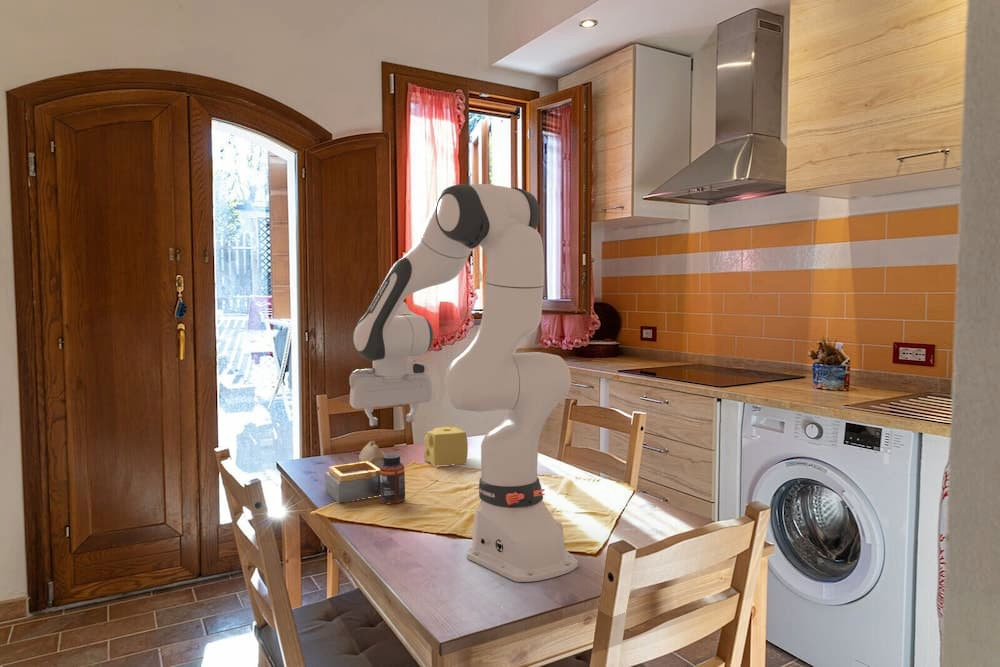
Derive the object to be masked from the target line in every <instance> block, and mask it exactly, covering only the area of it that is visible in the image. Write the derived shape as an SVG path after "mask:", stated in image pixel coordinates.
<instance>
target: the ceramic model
mask: <svg viewBox="0 0 1000 667" xmlns="http://www.w3.org/2000/svg"><path fill="white" fill-rule="evenodd" d="M385 455H387V454H386V453H385V452H384V451H383V450H381V449H380V447H379V446H378V445H377V444H376V441H375V440H370V441H368V443H367V444H366V445H365V446H364V447H363V448H362V449H361V451H360V453H359V455H358V460H360V461H359V462H366V461H369V462H370V463H372V464H373V465H375V466H376V467H378V468H379V469H380V467H381V465H383V463H384V456H385Z"/></svg>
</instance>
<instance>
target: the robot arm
mask: <svg viewBox="0 0 1000 667" xmlns="http://www.w3.org/2000/svg"><path fill="white" fill-rule="evenodd" d="M540 210H541V209H540V205H539V202H538V200H537V198H536V197H535V196H534V195H533V194H532V193H531V192H529V191H527V190H526V189H522V188H518V187H507V186H501V185H496V184H491V183H475V184H473V183H472V184H468V183H459V184H455V185H454V184H453V185H451V186H449V187H446V188H445V189H444V190H442V192H441V193H440V194H439V196H438V198H437V202H435V205H434V206H433V208H432V209H431V211H430V213H429V215H428V217H427V218H426V221H425V223H424V224H423V228H422V230H421V231H420V232H421V233H420V235H419V236H418V238H417V241H416V242H415V244H414V245H413V247H412V248H411V249H410V250H409V251H408V252H407V253H406V254H405V255H404V256H403V257H401V258H400V259H398V260H397V261H396V262H395V263H394V264H393V265H392V266H391V268H390V269H389V271H388V273H387V275H386V277H384V280H383V282H382V284H381V285H380V286H379V289H378V291H377V293H376V294H375V296H374V298H373V300H372V302H371V304H370V305H369V307H368V308H367V310H366V311H365V313H364V314H363V316H362V317H361V318H360V319H359V321H358V322H357V323H356V324H355V326H354V329H353V332H352V343H353V347H354V349H355V351H356V352H357V353H358V354H359V355H360V356H361V357H362V358H364V359H365V360H367V361H368V362H372V368H364V369H362V368H361V369H355V370H354V371H352V372H351V373H350V375H349V376H348V380H349V382H348V383H349V384H348V385H349V387H350V391H349V405H350V406H351V407H352V408H353V409H355V410H360V409H361V410H362V409H364V413H365V414H366V416H367V418H368V419H369V423H368V424H369V426H370V427H377V426H378V424H379V423H378V420H379V419H378V418H377V417H374V416H373V414H372V413H373V412H374V408H380V407H382V408H383V407H392V406H393V407H394V406H400V405H409V407H410V408H411V409H410V411H409V412H408V413H406V414H405V417H406V422H407V423H412V422H415V415H416V413H417V410H419V404H420V403H421V404H423V403H424V404H425V403H429V402H431V400H432V398H433V388H432V380H431V376H429V375H428V374H427V373H428V372H429V366H428V365H427V364H425V363H422V362H418V361H416V360H414V359H410V357H415V356H421V355H423V354H426V353H428V351H429V350H430V348H431V347H432V345H433V341H434V329H433V326H432V323H431V322H430V321H429V320H428V318H426V317H425V316H423V315H419V314H417V313H415V312H413V311H411V310H410V309H409V308H408V305H407V303H406V302H405V301H404V300H406V299H407V297H409V296H410V295H412V294H414V293H416V292H419V291H421V290H425V289H428V288H431V287H435V286H438V285H442V284H445V283H449V282H450V281H452V280H454V279H455V278H457V276H458V275H459V274H460V273H461V272H462V270H463V269H464V268H465V265H466V263H467V261H468V259H469V256H470V254H471V251H472V250H474V249H475V248H477V247H478V246H480V247H481V249H482V250H483V251H484V254H485V256H486V271H485V273H486V274H485V282H484V283H485V284H484V299H483V309H482V316H481V321H480V324H479V327H478V330H477V332H476V334H475V336H474V338H473V340H472V341H471V342H470V344H469V345H468V347H466V349H465V350H464V351H463V352H462V353H461V354H460V355H459V356H458V357H456V358H455V359H453V360H452V361H451V363H449V365H448V366H447V369H446V370H445V373H444V376H443V390H444V394H445V396H446V398H447V400H448V402H449V403H450V404H451V405H452V406H453V407H454V408H455V409H457V410H462V411H471V412H477V413H478V412H493V411H505V410H507V411H506V414H505V416H504V418H503V419H502V421H501V423H500V424H498V425H497V426H496V427H494V428H493V429H491V430H489V431H488V432H487V433H486V434H485V435H484V437H483V439H482V441H481V444H480V458H481V459H480V463H481V464H480V469H481V470H480V471H481V476H480V478H479V480H478V481H479V483H478V497H479V499H480V502H479V505H478V507H477V509H476V510H475V512H474V514H473V515H474V516H473V528H472V544H471V547H470V548H469V549H468V550H467V552H466V558H467V560H470V561H472V562H474V563H476V564H478V565H480V566H482V567H483V568H487V569H489V570H490V571H493V572H495V573H496V574H499V575H501V576H503V577H505V578H507V579H510V580H511V581H514V582H515V583H517V582H518V583H523V582H524V583H528V582H538V581H543V580H548V579H552V578H556V577H560V576H563V575H565V574H567V573H570V572H572V571H574V570H575V569H577V568H578V566H579V561H578V560H577V558H576V557H575V556H574V555H572V554H571V553H570V552H569V551H568V550H567V549H566V548H565V547H566V546H565V536H564V532H563V531H564V526H563V524H562V523H561V522H560V521H556V519H555V518H554V517H553V514H552V513H551V512H550V511H549V509H548V507H547V506H546V504H545V503H544V501H543V499H544V496H545V493H543V492H544V491H545V488H542V485H541V482H540V479H539V477H538V459H539V458H538V456H539V455H538V454H539V444H540V442H539V441H540V437H541V433H542V431H543V427H544V426H545V423H546V422H547V420H548V418H549V416H550V415H551V413H552V412H553V410H555V408H556V407H557V406H558V405H559V404H560V403H561V402H562V401H564V400H565V398H566V397H567V395H568V393H569V391H570V389H571V385H572V384H571V383H572V378H571V377H572V376H571V371H570V368H569V365H568V364H567V362H566V360H564V359H563V357H561V356H560V355H557V354H553V353H549V352H548V353H547V352H541V351H531V352H528V351H527V352H514V350H515V349H516V347H517V346H518V344H519V343H521V342H522V340H524V339H525V338H527V337H528V336H530V335H532V334H533V333H535V331H536V330H537V329H538V328H539V326H540V325H541V322H542V316H543V315H542V313H543V299H544V287H545V286H544V285H545V256H544V244H543V239H542V236H541V234H540V233H539V231H538V230H537V229H538V227H539V224H540V218H541V211H540Z"/></svg>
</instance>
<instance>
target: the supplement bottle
mask: <svg viewBox="0 0 1000 667" xmlns="http://www.w3.org/2000/svg"><path fill="white" fill-rule="evenodd" d="M405 475H406V474H405V465H404V464H403V463H401V456H400V454H397V453H396V454H395V453H391V454H386V455H385V456H384V463H383V465H381V467H380V484H381V497H380V501H381V503H383V502H384V503H383V504H385V503H390V504H389V505H394V504H393V503H398V504H400V503H399V502H401V503H403V502H405V500H406V481H405V480H406V479H405V477H406V476H405ZM402 501H403V502H402Z"/></svg>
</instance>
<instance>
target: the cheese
mask: <svg viewBox="0 0 1000 667" xmlns="http://www.w3.org/2000/svg"><path fill="white" fill-rule="evenodd" d="M423 441H424V442H423V444H424V450H423V459H424V461H425V460H426V461H428V462H430V463H431V464H433V465H435V466H437V465H452V464H459V465H465V464H464V463H466V464H467V460H468V451H469V450H468V445H469V443H468V437H467V433H466V431H464V430H462V429H460V428H457V427H456V426H441V427H440V426H439V427H435V428H434V429H432V430H428V431H427V432H426V435H424V439H423ZM426 461H425V462H426ZM428 462H427V463H428ZM430 463H429V464H430ZM431 464H430V465H431Z"/></svg>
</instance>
